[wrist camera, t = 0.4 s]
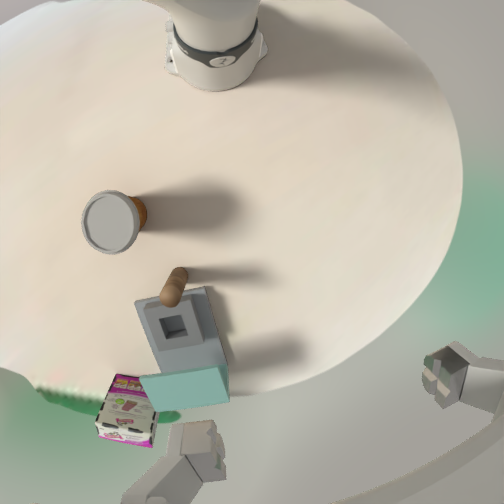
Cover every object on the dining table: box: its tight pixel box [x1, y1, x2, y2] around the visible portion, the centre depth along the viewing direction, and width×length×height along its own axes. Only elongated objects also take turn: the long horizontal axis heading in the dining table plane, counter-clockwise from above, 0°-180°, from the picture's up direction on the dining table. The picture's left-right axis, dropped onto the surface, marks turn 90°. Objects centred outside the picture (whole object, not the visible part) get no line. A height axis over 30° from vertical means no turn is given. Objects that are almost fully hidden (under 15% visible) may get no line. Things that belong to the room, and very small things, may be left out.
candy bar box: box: [95, 374, 159, 448], centre depth 51 cm, size 11×5×16 cm, turn 82°
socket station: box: [134, 286, 229, 412], centre depth 51 cm, size 18×14×12 cm
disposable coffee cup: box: [81, 190, 147, 254], centre depth 45 cm, size 10×10×12 cm
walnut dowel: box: [159, 267, 188, 308], centre depth 48 cm, size 3×3×11 cm
